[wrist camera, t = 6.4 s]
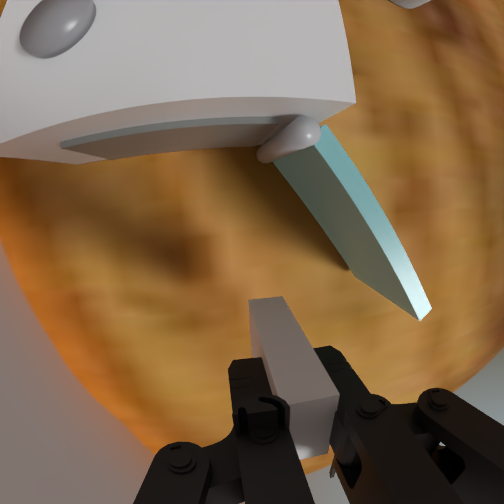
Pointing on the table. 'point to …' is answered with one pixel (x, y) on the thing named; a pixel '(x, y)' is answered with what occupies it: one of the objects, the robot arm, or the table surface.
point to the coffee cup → (409, 3)
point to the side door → (345, 210)
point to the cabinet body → (164, 74)
